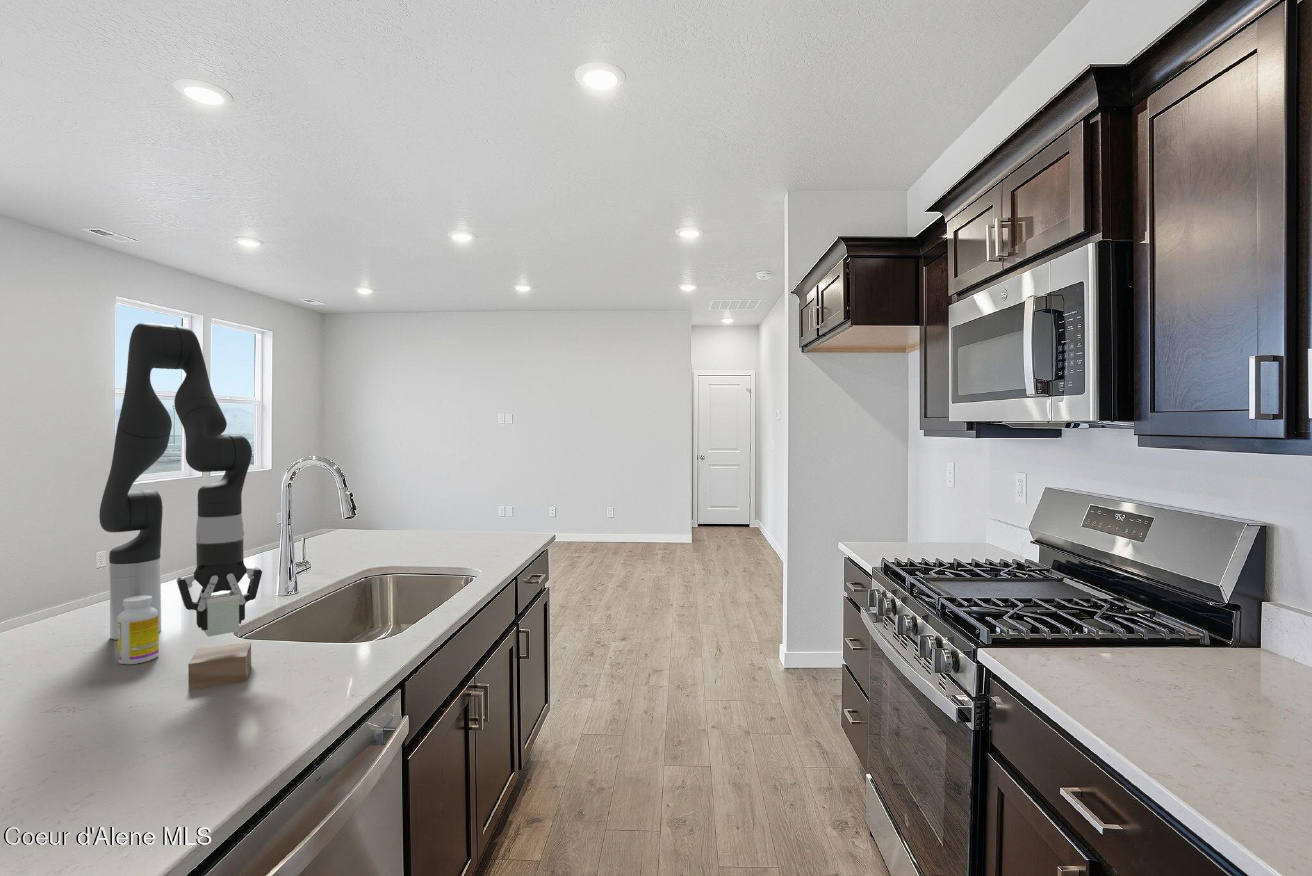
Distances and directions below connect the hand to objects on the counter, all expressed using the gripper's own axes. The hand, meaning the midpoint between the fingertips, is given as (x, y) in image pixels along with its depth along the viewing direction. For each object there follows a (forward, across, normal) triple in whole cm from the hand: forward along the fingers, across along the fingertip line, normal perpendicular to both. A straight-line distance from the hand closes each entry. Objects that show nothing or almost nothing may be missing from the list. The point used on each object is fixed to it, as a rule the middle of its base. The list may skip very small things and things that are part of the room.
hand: (221, 625), depth 125 cm
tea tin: (+1, 0, 0) cm, 1 cm away
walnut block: (+10, 0, 0) cm, 10 cm away
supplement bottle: (+10, +11, -22) cm, 27 cm away
